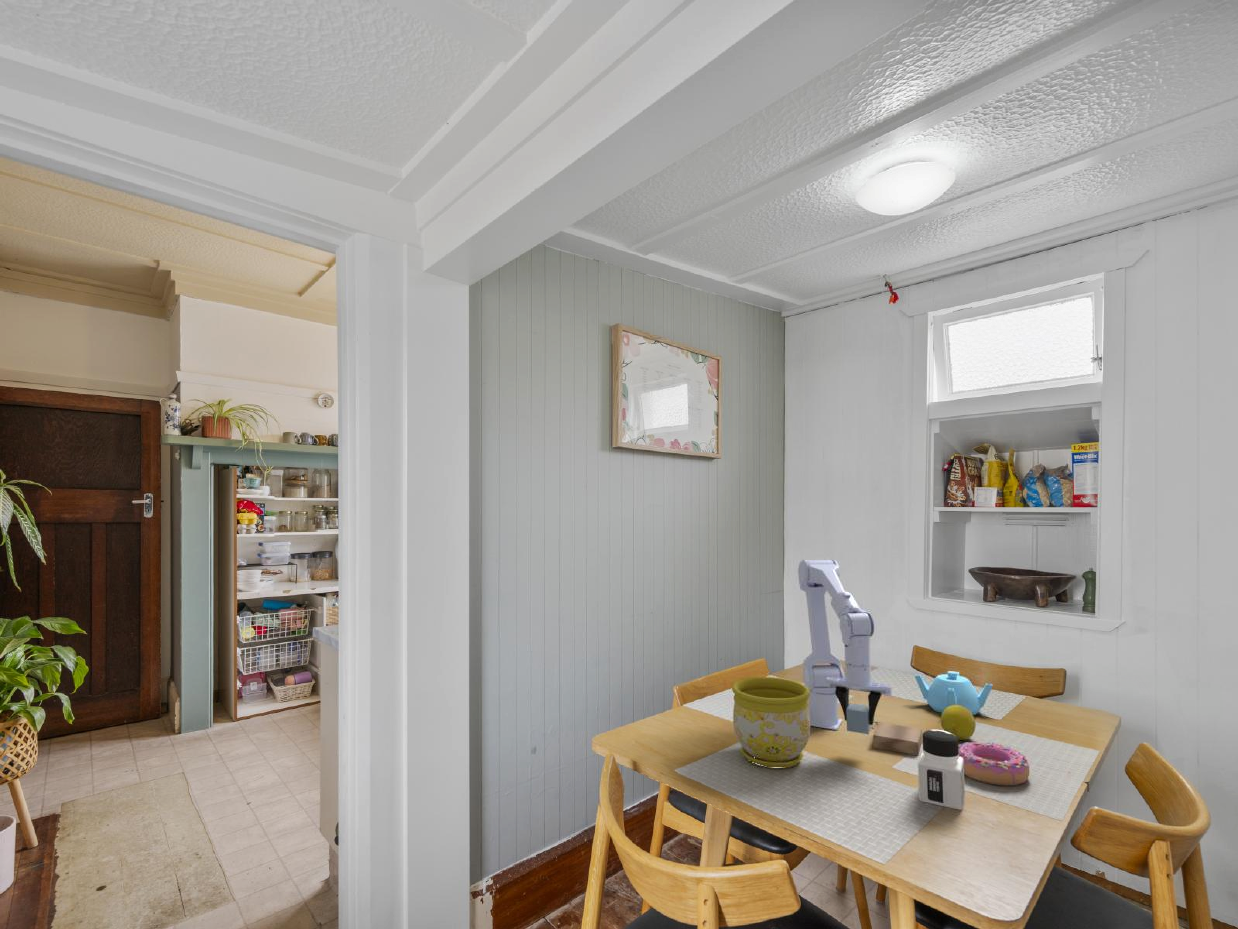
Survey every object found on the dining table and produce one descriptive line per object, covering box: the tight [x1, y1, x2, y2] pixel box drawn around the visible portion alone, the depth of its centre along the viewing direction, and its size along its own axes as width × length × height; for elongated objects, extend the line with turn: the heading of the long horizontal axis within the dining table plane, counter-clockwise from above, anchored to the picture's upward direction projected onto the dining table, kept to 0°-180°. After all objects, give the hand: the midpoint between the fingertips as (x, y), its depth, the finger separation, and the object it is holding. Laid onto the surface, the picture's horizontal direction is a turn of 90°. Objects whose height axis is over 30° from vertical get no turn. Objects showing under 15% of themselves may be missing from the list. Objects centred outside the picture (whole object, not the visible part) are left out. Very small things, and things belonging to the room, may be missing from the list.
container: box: [917, 729, 966, 811], centre depth 128 cm, size 8×8×13 cm
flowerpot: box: [731, 676, 811, 768], centre depth 149 cm, size 18×18×16 cm
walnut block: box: [872, 721, 923, 756], centre depth 156 cm, size 10×10×3 cm
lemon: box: [940, 705, 976, 741], centre depth 160 cm, size 11×8×8 cm
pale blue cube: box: [846, 702, 873, 735], centre depth 150 cm, size 5×5×5 cm
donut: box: [958, 741, 1030, 786], centre depth 139 cm, size 14×14×5 cm
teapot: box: [914, 670, 993, 716], centre depth 181 cm, size 15×15×11 cm
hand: (859, 721), depth 150 cm, fingers closed on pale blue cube, 5 cm apart
